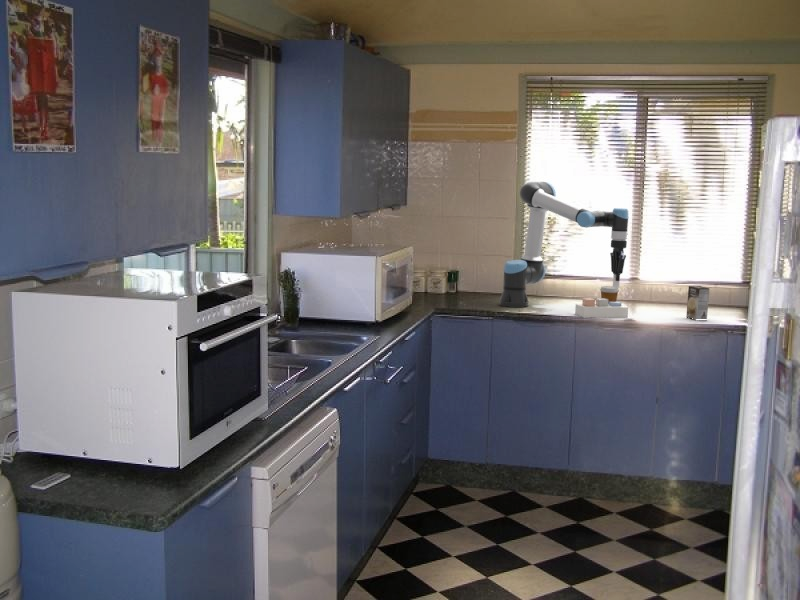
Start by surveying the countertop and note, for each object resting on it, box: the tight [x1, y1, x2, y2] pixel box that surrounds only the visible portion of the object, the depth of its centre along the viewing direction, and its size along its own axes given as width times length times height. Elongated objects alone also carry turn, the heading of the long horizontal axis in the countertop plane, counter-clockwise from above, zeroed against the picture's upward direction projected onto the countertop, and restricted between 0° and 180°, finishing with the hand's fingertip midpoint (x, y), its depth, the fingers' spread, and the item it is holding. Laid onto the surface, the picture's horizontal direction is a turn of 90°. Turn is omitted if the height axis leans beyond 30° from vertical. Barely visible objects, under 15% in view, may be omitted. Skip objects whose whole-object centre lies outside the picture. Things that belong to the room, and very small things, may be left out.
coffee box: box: [685, 285, 711, 320], centre depth 449 cm, size 9×6×16 cm
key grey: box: [595, 297, 608, 307], centre depth 452 cm, size 5×5×6 cm
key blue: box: [609, 301, 622, 306], centre depth 454 cm, size 5×5×6 cm
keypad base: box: [574, 303, 629, 319], centre depth 453 cm, size 11×23×5 cm, turn 102°
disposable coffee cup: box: [599, 285, 620, 304], centre depth 470 cm, size 10×10×12 cm
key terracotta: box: [581, 297, 596, 307], centre depth 451 cm, size 5×5×6 cm
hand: (615, 287), depth 452 cm, fingers closed
